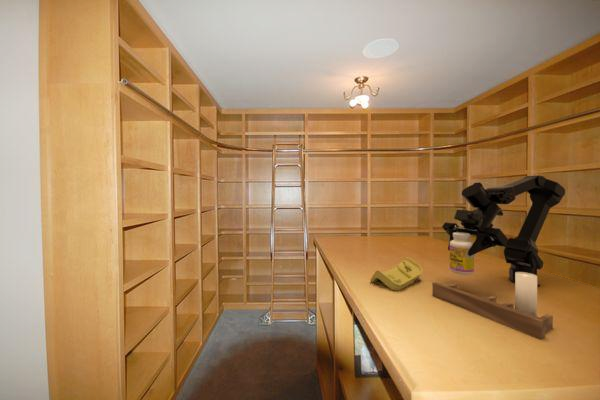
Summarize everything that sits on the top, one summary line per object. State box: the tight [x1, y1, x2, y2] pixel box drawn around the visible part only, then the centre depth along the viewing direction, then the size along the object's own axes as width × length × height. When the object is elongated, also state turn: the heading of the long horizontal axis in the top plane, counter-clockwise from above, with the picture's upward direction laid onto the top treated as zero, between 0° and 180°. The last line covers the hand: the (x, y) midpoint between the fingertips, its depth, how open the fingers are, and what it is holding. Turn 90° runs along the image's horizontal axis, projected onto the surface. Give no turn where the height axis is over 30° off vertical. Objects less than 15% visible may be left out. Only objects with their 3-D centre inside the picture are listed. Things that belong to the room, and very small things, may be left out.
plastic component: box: [370, 256, 424, 292], centre depth 88 cm, size 20×7×10 cm
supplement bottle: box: [449, 232, 475, 276], centre depth 77 cm, size 7×7×13 cm
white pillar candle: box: [514, 272, 538, 317], centre depth 59 cm, size 4×4×12 cm
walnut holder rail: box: [432, 281, 554, 340], centre depth 65 cm, size 8×26×4 cm, turn 26°
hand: (458, 252), depth 77 cm, fingers closed on supplement bottle, 7 cm apart
